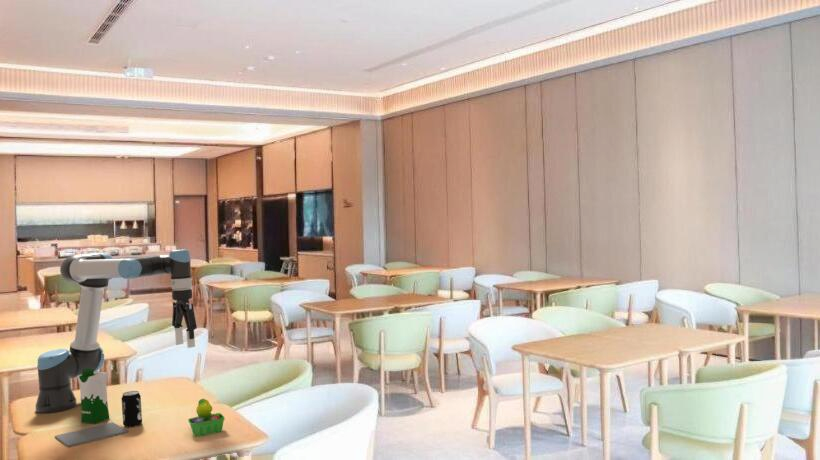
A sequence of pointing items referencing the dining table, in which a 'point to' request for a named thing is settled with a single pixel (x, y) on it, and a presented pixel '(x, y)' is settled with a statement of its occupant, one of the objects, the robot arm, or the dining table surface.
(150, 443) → the dining table surface
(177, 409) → the dining table surface
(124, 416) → the beverage can
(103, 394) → the milk carton
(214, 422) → the fruit basket
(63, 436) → the mat
